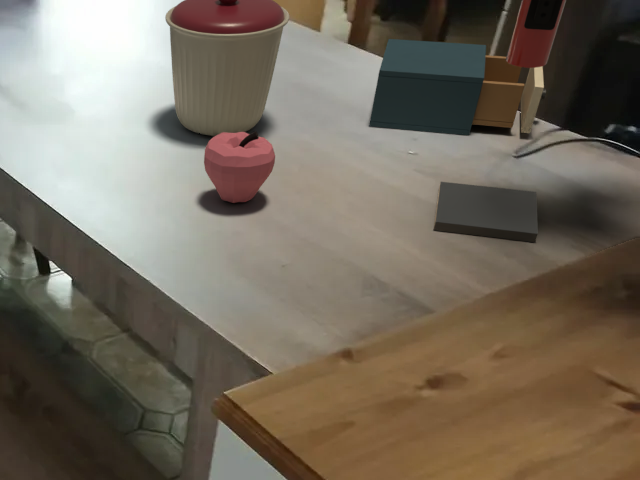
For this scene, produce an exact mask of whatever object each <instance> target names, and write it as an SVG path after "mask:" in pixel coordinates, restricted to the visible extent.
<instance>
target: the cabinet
mask: <svg viewBox="0 0 640 480" xmlns="http://www.w3.org/2000/svg"><path fill="white" fill-rule="evenodd" d="M486 55H487V44H476V43H475V44H474V43H462V42H461V43H459V42H447V41H446V42H442V41H428V40H413V39H412V40H411V39H397V38H396V39H395V38H394V39H393V38H388V40H387V43H386V47H385V50H384V54H383V57H382V61H381V63H380V67H379V71H378V75H377V81H376V88H375V91H374V92H375V93H374V97H373V103H372V108H371V112H370V119H369V124H368V127H372V128H373V127H375V128H384V129H394V130H395V129H396V130H404V131H405V130H406V131H415V132H427V133H428V132H429V133H439V134H449V135H450V134H451V135H459V136H470V133H471V129H472V126H473V124H472V122H473V119H474V115H475V111H476V107H477V103H478V100H479V96H480V92H481V88H482V84H483V81H484V73H485V57H486Z"/></svg>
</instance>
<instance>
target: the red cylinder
mask: <svg viewBox="0 0 640 480" xmlns="http://www.w3.org/2000/svg"><path fill="white" fill-rule="evenodd" d="M530 2H531V0H521V2H520V6H519V9H518V12H517V16H516V20H515V24H514V28H513V31H512V35H511V38H510V42H509V46H508V49H507V53H506V56H505V57H506V61H507V62H508V63H509V64H511V65H514V66H518V67H522V68H527V69H530V68H536V67H542V66H543V67H544V66H546V65H547V64H548V62H549V59H550V55H551V52H552V48H553V45H554V42H555V38H556V35H557V32H558V29H559V25H560V23H561V19H562V15H563V12H564V8H565V6H566V2H567V0H563V1H562V5H561V8H560V11H559V14H558V18H557V21H556V24H555V27H554V29H552V30H540V29H526V28H525V27H524V23H525V20H526V16H527V12H528V9H529V5H530Z"/></svg>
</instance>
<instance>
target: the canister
mask: <svg viewBox="0 0 640 480" xmlns="http://www.w3.org/2000/svg"><path fill="white" fill-rule="evenodd" d="M164 18H165V22H166V24H167V25H168V26H169V40H170V57H171V58H170V59H171V71H172V72H171V74H172V86H173V97H174V107H175V113H176V116H177V119H178V121H179V123H180V124H181V125H182V126H183V127H184V128H185V129H187V130H188V131H190V132H193V133H195V134H199V133H200V134H199V135H203V136H211V137H214V136H216V135H218V134H220V133H222V132H225V133H238V132H245V133H247V131H250V130H251V129H253V128H254V127H255V126H257V124H258V123H259V122H260V120H261V118H262V116H263V115H264V112H265V108H266V105H267V100H268V97H269V92H270V89H271V86H272V81H273V76H274V72H275V68H276V63H277V58H278V53H279V50H280V45H281V42H282V41H281V40H282V37H283V31H284V27H285V26H287V24H288V22H289V21H290V13H289V12H288V10H287V9H286V8H284V7H283V6H281V5H280V4H278V2H277V1H274V0H182V1H180V2H179V3H178V4H177V5H175V6H172V7H171V8H170V9H169V10H167V12H166V14H165V17H164Z"/></svg>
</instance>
